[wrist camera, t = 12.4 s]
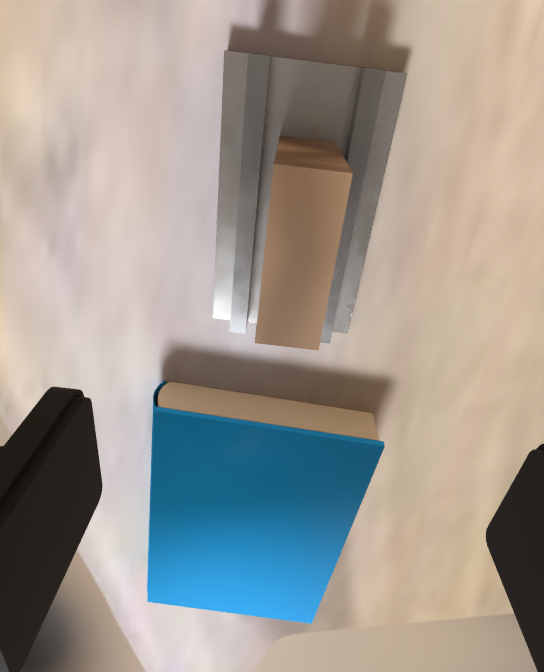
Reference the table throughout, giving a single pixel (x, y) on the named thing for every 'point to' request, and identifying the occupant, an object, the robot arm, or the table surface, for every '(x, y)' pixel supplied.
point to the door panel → (301, 241)
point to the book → (252, 499)
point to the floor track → (258, 160)
